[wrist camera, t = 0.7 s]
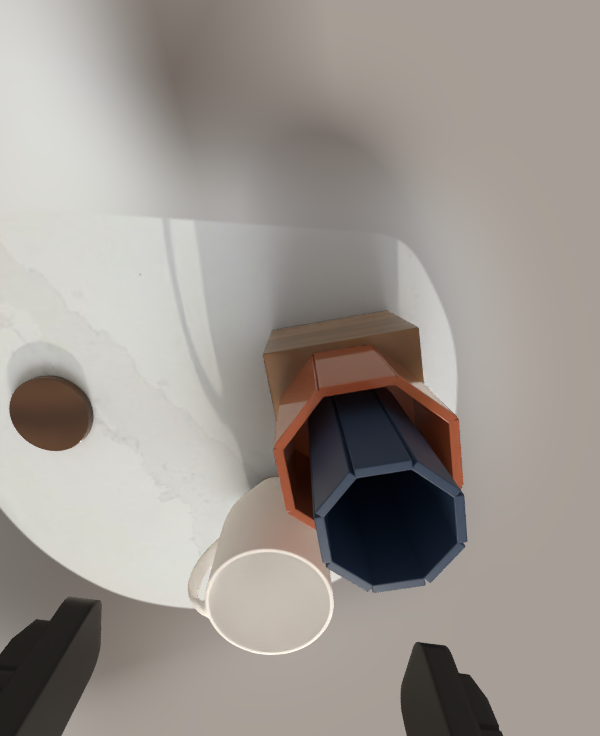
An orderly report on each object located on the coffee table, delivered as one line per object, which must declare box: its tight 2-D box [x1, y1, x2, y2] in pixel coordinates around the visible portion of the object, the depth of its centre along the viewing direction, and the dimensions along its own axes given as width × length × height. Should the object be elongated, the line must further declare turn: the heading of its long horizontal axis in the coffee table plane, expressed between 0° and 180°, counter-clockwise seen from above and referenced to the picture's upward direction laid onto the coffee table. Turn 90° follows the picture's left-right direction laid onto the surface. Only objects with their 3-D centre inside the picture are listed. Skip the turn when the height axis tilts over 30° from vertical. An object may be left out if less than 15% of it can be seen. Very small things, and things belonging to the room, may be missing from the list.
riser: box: [263, 310, 424, 421], centre depth 30 cm, size 10×10×9 cm
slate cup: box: [308, 387, 467, 593], centre depth 20 cm, size 6×6×11 cm
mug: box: [188, 477, 334, 655], centre depth 32 cm, size 12×9×12 cm
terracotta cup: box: [273, 344, 463, 530], centre depth 22 cm, size 9×9×7 cm
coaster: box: [9, 376, 93, 451], centre depth 35 cm, size 7×7×1 cm
